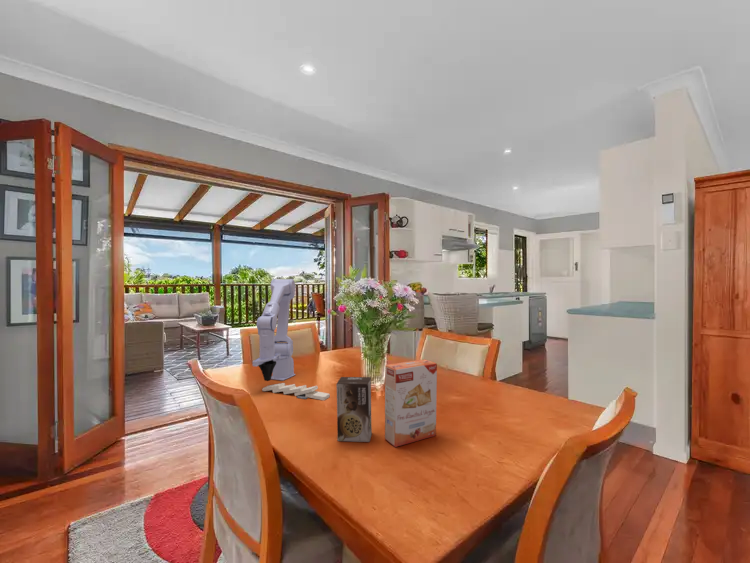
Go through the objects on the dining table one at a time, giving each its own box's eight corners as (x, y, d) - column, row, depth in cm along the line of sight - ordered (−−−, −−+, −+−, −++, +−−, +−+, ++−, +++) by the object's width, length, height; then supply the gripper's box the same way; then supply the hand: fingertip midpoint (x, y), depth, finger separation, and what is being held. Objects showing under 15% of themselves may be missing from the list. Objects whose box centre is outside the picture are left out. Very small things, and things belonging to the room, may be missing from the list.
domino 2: (278, 386, 140) (295, 384, 137) (279, 389, 140) (295, 387, 137) (272, 389, 136) (288, 387, 133) (273, 392, 136) (289, 390, 133)
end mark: (306, 392, 137) (306, 391, 137) (315, 393, 135) (315, 392, 135) (296, 397, 130) (296, 397, 130) (305, 399, 129) (305, 398, 129)
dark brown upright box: (372, 432, 102) (371, 376, 101) (369, 442, 95) (369, 383, 95) (341, 431, 102) (340, 376, 102) (336, 441, 96) (336, 382, 96)
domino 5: (311, 390, 134) (329, 393, 131) (311, 393, 134) (329, 396, 131) (305, 393, 130) (324, 397, 127) (305, 396, 131) (324, 400, 127)
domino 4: (300, 389, 136) (317, 385, 133) (301, 392, 136) (318, 388, 133) (294, 392, 132) (311, 388, 129) (295, 396, 132) (312, 391, 129)
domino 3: (289, 388, 138) (306, 385, 135) (290, 391, 138) (306, 388, 135) (283, 391, 134) (300, 388, 131) (283, 394, 134) (300, 391, 131)
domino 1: (268, 385, 142) (284, 382, 139) (269, 388, 142) (285, 385, 139) (262, 388, 138) (278, 385, 135) (262, 391, 138) (278, 388, 135)
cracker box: (396, 448, 92) (395, 369, 91) (384, 439, 97) (383, 364, 97) (437, 436, 99) (437, 362, 98) (424, 428, 104) (424, 358, 104)
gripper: (263, 350, 131) (263, 386, 131) (286, 343, 144) (286, 376, 145) (248, 349, 134) (248, 384, 134) (272, 342, 147) (272, 374, 147)
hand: (267, 380), depth 139 cm, fingers closed
